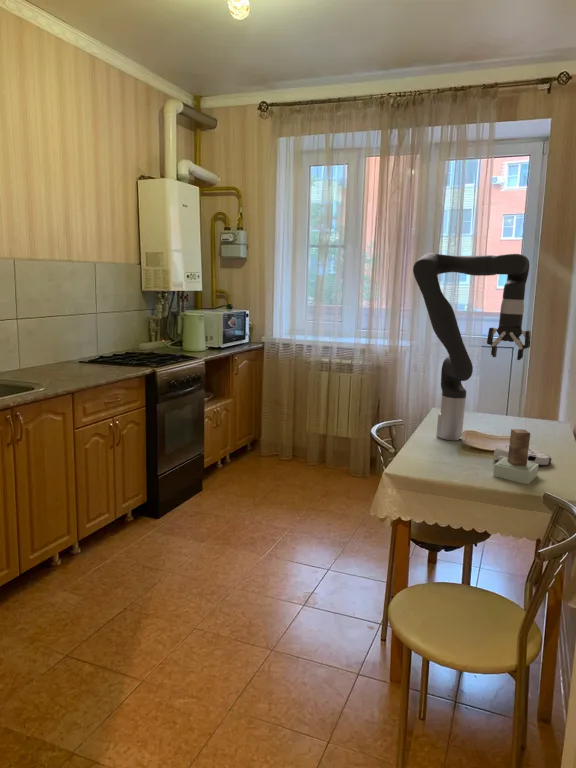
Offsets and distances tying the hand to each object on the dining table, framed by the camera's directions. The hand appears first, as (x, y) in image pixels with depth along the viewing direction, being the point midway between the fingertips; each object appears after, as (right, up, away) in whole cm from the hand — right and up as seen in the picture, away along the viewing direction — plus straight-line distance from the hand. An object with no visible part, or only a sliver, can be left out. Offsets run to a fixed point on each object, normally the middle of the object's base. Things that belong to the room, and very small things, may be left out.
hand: (506, 358), depth 202 cm
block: (-3, -35, -15) cm, 39 cm away
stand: (-3, -39, -15) cm, 42 cm away
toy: (+5, -37, +2) cm, 38 cm away
